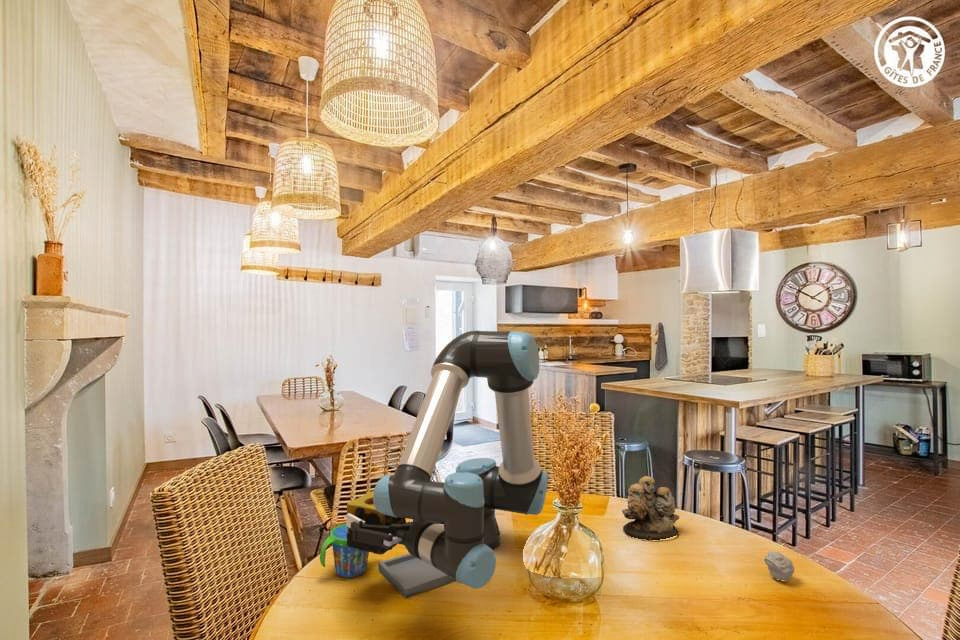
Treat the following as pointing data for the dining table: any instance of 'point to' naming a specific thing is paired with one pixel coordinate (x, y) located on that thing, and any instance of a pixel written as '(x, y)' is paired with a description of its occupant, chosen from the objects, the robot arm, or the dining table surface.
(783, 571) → the grey rounded lump
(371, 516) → the candle
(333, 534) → the snack cup
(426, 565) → the tray
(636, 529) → the owl figurine
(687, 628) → the dining table surface
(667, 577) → the dining table surface
